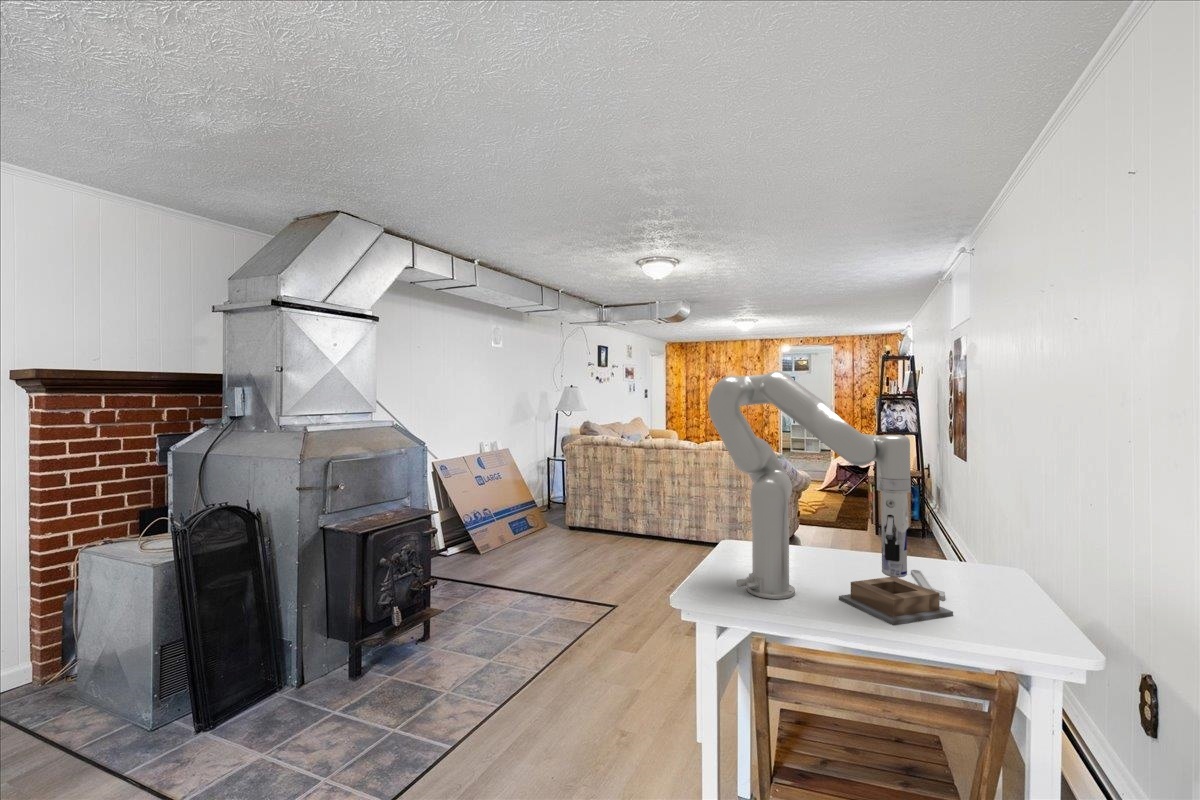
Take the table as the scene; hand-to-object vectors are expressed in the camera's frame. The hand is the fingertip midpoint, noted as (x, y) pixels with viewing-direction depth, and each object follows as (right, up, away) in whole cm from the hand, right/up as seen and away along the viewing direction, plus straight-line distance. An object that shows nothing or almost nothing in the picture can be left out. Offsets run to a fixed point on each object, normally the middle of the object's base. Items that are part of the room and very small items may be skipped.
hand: (894, 556), depth 147 cm
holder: (0, -13, 0) cm, 13 cm away
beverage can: (0, -5, 0) cm, 5 cm away
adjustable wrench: (+17, -13, +16) cm, 26 cm away
